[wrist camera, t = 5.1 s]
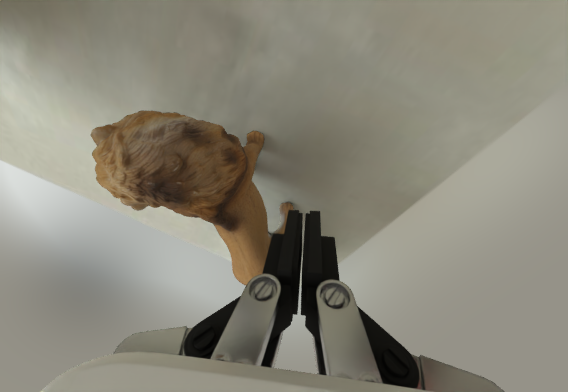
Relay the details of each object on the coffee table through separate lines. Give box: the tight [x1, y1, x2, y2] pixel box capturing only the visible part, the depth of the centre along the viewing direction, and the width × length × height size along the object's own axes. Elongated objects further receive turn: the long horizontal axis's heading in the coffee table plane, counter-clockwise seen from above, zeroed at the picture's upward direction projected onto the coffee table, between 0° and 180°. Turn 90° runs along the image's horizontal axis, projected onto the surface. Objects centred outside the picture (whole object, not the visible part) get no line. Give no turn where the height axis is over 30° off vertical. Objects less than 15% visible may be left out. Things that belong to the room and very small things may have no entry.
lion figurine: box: [91, 111, 293, 285], centre depth 13 cm, size 15×5×9 cm, turn 27°
